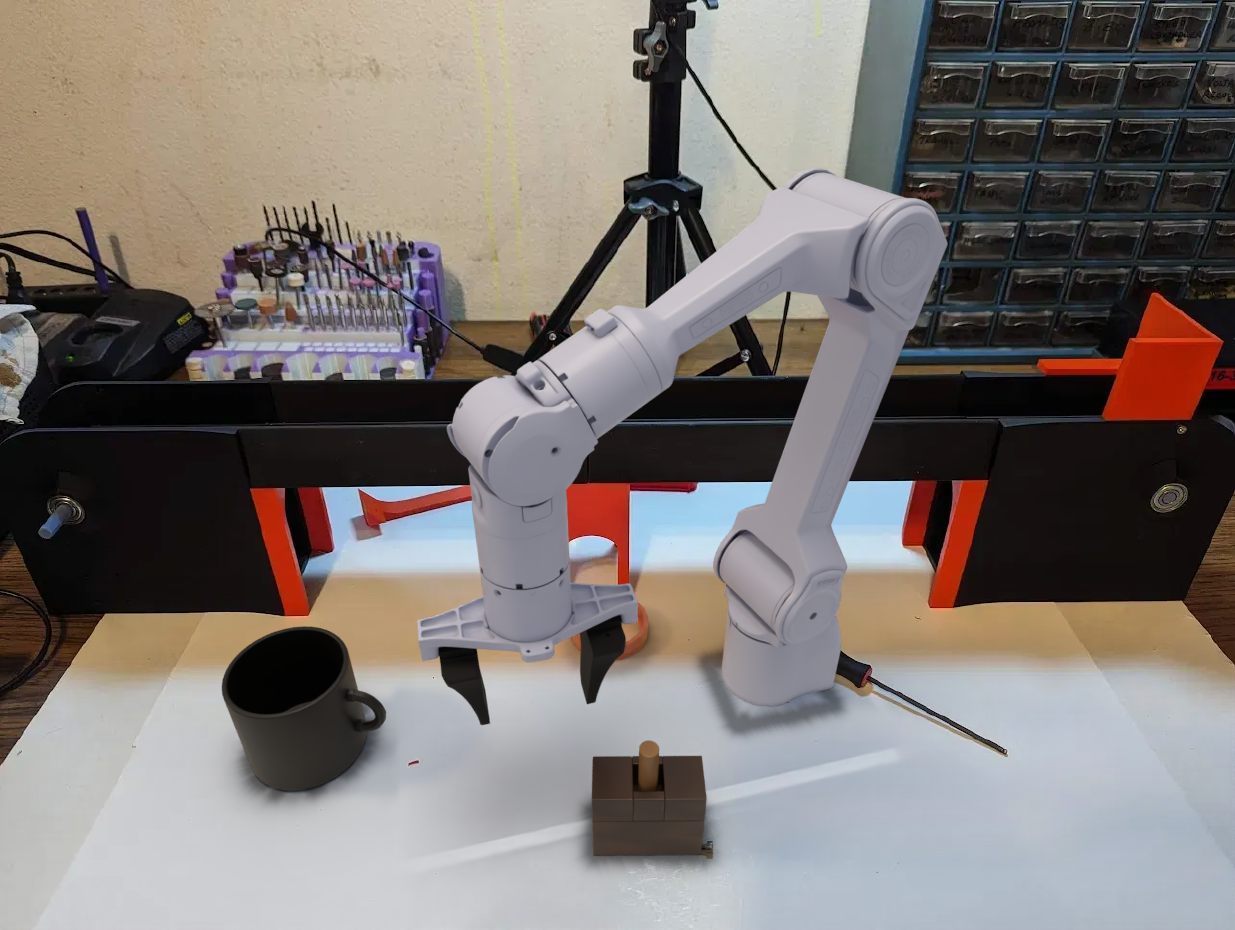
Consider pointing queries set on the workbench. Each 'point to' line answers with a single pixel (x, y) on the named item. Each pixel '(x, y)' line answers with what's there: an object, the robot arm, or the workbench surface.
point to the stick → (648, 766)
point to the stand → (648, 807)
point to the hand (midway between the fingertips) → (536, 703)
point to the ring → (636, 641)
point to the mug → (298, 707)
